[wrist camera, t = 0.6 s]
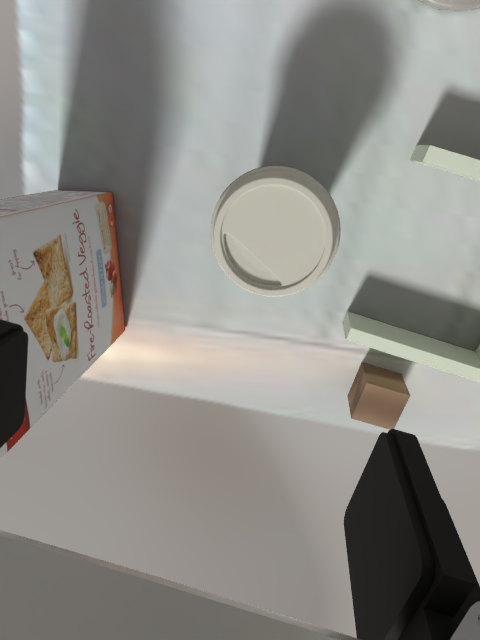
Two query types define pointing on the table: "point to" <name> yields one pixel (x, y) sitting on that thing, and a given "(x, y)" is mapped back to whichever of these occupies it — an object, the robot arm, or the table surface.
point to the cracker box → (59, 288)
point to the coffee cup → (275, 231)
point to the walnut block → (377, 396)
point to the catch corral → (407, 342)
